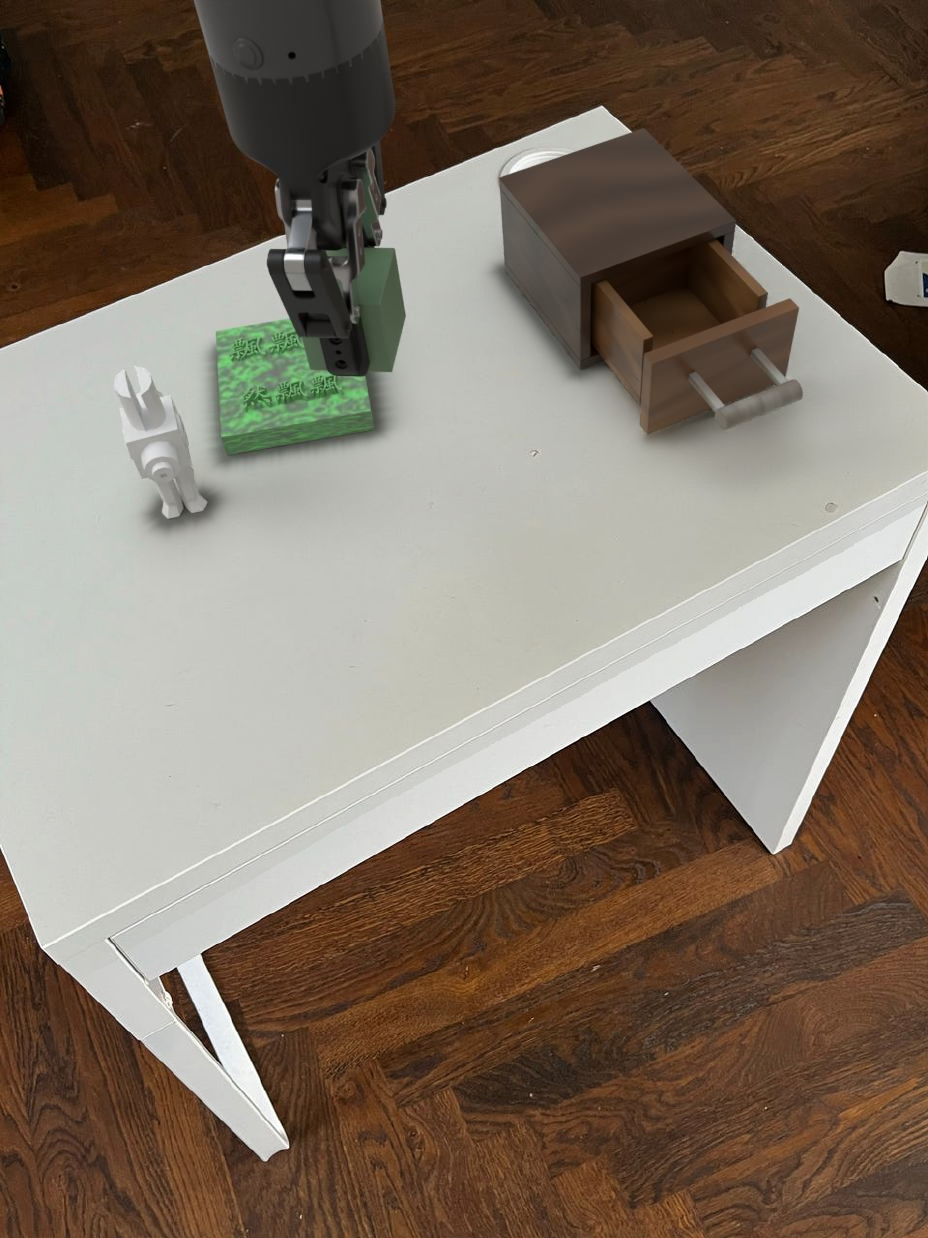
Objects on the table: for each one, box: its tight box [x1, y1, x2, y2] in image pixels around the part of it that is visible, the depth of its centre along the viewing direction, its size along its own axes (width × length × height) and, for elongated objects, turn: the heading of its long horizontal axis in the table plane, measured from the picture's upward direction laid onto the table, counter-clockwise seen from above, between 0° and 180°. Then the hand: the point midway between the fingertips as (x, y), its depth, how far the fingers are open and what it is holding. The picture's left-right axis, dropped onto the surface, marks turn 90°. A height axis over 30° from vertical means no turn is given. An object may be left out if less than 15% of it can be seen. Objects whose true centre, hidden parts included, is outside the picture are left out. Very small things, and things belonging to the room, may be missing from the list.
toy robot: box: [113, 365, 208, 520], centre depth 80 cm, size 4×8×12 cm, turn 17°
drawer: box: [590, 238, 804, 436], centre depth 83 cm, size 18×12×7 cm, turn 24°
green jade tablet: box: [215, 317, 375, 456], centre depth 89 cm, size 11×12×2 cm
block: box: [302, 247, 407, 373], centre depth 60 cm, size 4×4×4 cm
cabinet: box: [498, 128, 737, 370], centre depth 90 cm, size 14×13×9 cm
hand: (358, 337), depth 62 cm, fingers closed on block, 4 cm apart
